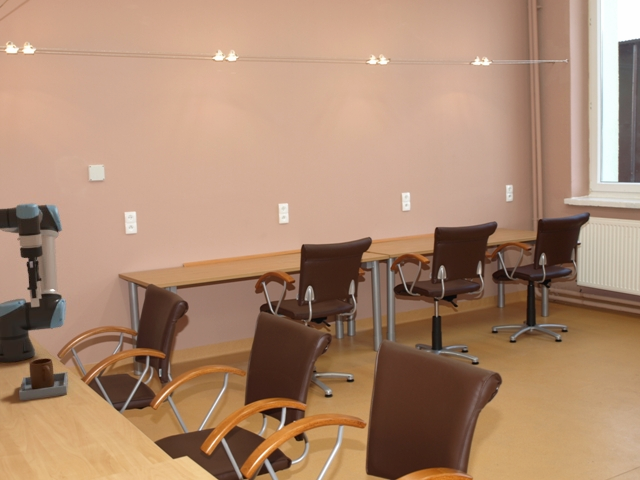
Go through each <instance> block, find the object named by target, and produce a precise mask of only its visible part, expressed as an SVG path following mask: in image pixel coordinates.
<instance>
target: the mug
mask: <svg viewBox="0 0 640 480" xmlns="http://www.w3.org/2000/svg"><path fill="white" fill-rule="evenodd" d="M28 365H29V377H30V379H31V387H32V389H33V390H34V389H42V388H49V387H53V386H54V374H55V373H54V364H53V360H52V359H51V358H48V357H47V358H37V359H34V360H31V361H30V362H29V364H28Z"/></svg>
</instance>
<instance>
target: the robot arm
mask: <svg viewBox="0 0 640 480" xmlns="http://www.w3.org/2000/svg"><path fill="white" fill-rule="evenodd" d="M0 231H2V232H5V233H13V234H18V237H17V241H19V246H20V247H19V251H20V257H21V258H22V259H28V261H26V268H27V276H28V287H27V291H29V297H30V299H29V300H30V301H27V300H26V299H25V298H16V299H11V300H8V301H4V302H1V303H0V363H12V362H20V361H25V360H27V359H31V358H33V357H34V356H36V349H35V347H34V344H33V342H32V340H31V338H30V333H29V331H37V330H38V331H39V330H47V329H48V330H49V329H51V330H53V329H57V328H61V327H63V326H64V324H65V320H66V314H67V313H66V310H67V308H66V307H67V303H66V299H65V298H62V297H63V296H62V294H61V293H60V292H58V274H57V271H58V270H57V255H56V253H57V249H56V238H58V237H59V235H60V233H59V232H62V231H63V227H62V222H61V217H60V212H59V209H58V207H57V205H54V204H41V205H40V204H39V205H38V204H37V203H32V202H31V203H21V204H18V205H16V206H15V207H11V208H10V207H9V208H0Z"/></svg>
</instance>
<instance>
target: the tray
mask: <svg viewBox="0 0 640 480" xmlns="http://www.w3.org/2000/svg"><path fill="white" fill-rule="evenodd" d="M68 377H69V376H68V371H64V372H59V373H58V372H57V373H56V372H55V373H54V386H53V387H49V388H42V389H34V390H33V389H32V387H31V379H30V376H25V377H23V378H22V380H21V385H20V387H19V391H18V395H19V401H20V402H22V401H28V400H29V401H30V400H35V399H36V400H38V399H43V398H45V399H46V398H49V397H50V398H51V397H58V396H65V395H67V394H68V385H69V378H68Z"/></svg>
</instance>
